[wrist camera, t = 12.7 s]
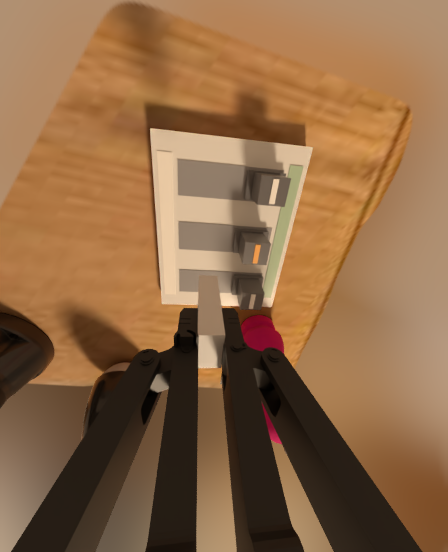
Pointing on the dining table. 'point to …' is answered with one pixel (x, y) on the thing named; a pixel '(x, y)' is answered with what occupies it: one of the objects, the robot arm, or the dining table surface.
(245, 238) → the breaker
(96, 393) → the black glossy egg shape
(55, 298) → the dining table surface
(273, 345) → the pepper mill
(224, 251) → the panel
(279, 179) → the breaker
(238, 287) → the breaker
